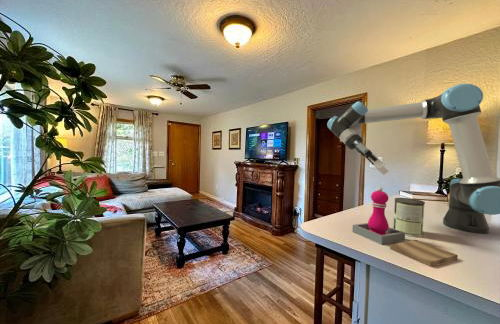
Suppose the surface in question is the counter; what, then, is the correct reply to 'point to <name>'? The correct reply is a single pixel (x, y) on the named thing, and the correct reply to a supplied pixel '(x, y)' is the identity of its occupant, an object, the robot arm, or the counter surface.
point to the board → (424, 252)
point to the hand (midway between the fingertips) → (384, 170)
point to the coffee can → (409, 216)
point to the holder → (390, 237)
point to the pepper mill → (378, 213)
